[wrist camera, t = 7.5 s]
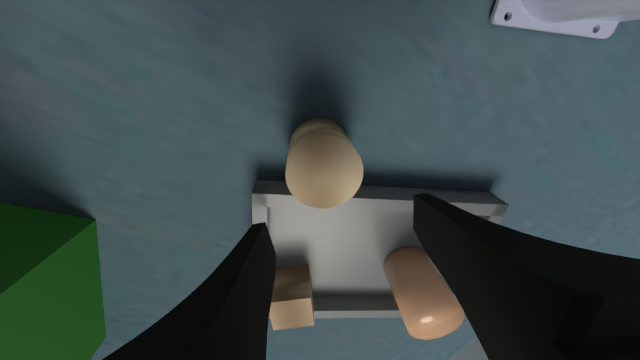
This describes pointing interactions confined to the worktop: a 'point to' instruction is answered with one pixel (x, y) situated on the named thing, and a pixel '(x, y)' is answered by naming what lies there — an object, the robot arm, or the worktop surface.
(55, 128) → the worktop surface
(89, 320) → the hardback book
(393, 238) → the tray
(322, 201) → the beige oval piece
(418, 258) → the tan rounded cylinder
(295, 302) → the oak cube
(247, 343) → the robot arm
